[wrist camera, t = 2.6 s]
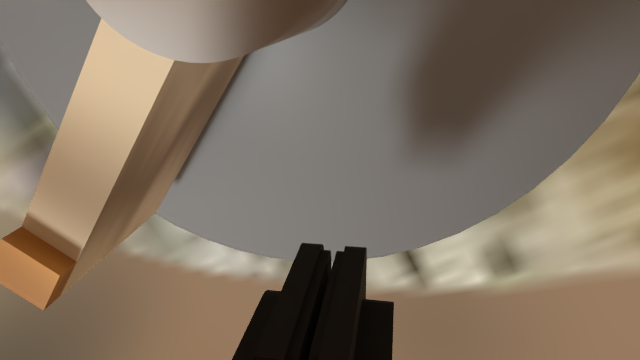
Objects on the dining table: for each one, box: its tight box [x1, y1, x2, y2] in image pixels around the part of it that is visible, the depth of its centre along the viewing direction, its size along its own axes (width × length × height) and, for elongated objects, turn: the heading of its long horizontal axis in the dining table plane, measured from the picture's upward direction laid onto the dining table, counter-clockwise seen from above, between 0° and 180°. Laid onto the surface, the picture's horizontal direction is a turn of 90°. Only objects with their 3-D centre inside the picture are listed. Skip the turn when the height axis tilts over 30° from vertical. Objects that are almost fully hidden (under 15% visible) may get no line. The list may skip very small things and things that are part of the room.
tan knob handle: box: [0, 0, 348, 310], centre depth 11 cm, size 12×5×6 cm, turn 146°
